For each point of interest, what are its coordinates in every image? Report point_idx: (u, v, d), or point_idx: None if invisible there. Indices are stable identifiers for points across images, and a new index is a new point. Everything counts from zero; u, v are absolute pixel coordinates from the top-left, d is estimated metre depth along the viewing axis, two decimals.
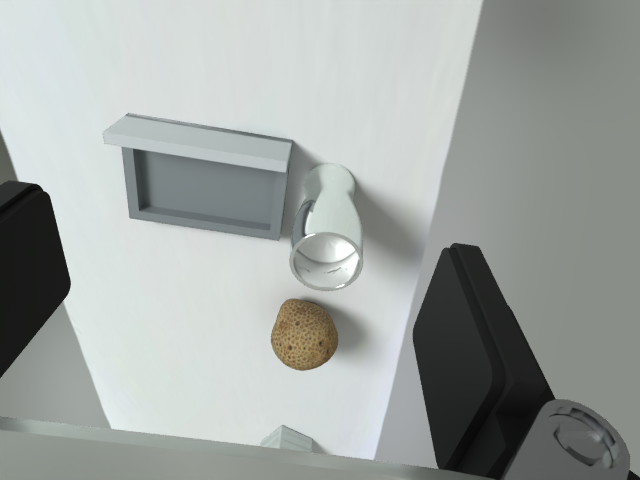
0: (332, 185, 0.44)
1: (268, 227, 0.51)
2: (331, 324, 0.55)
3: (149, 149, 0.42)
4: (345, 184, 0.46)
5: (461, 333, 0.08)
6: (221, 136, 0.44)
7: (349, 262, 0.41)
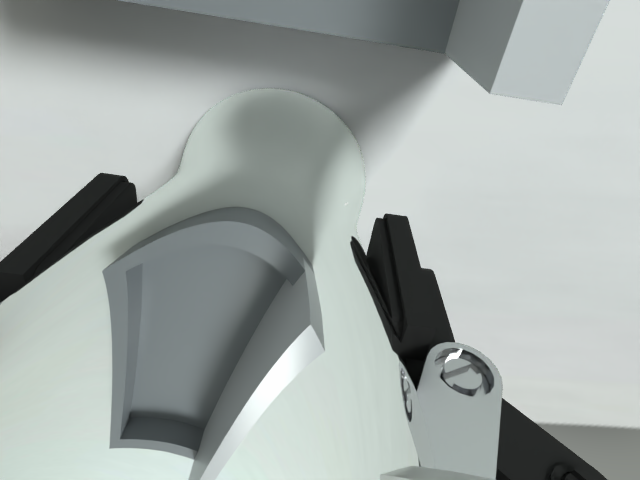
0: None
1: None
2: None
3: None
4: None
5: None
6: None
7: None
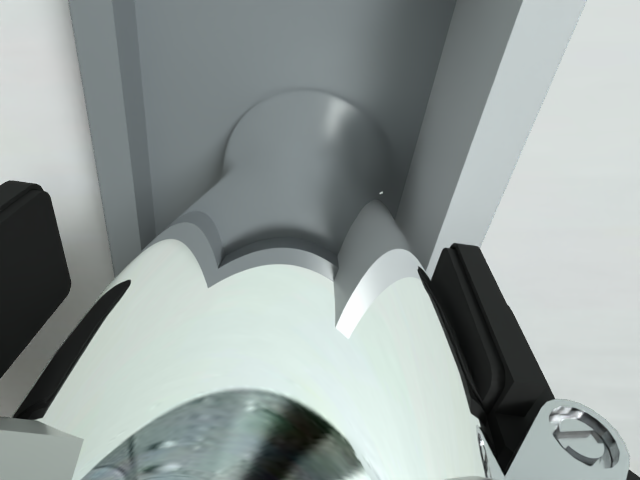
0: None
1: None
2: None
3: (497, 91, 0.09)
4: None
5: (461, 333, 0.08)
6: None
7: None
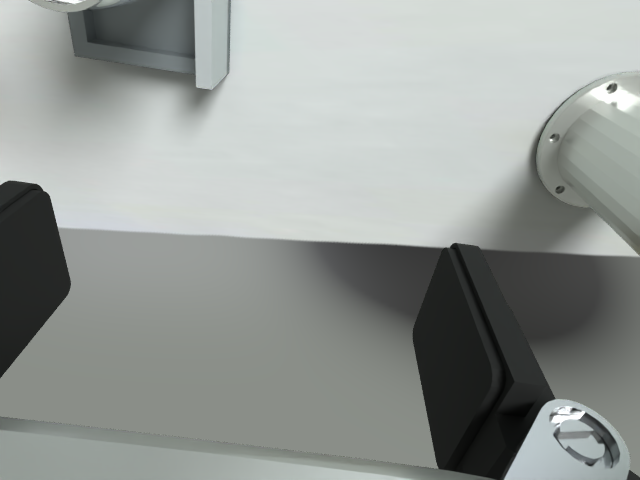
0: None
1: (91, 37, 0.34)
2: None
3: None
4: None
5: (461, 333, 0.08)
6: None
7: None
